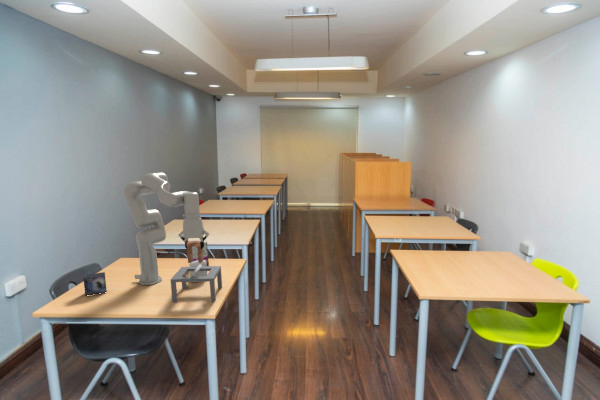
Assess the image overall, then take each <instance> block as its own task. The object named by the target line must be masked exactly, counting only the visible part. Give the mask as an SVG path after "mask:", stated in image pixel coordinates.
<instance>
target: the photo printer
mask: <svg viewBox="0 0 600 400" xmlns="http://www.w3.org/2000/svg"><path fill="white" fill-rule="evenodd" d="M199 264H201V265H202V266H207V263H206V261H205V260H203V261H202V263H198V260H196V261H193V262H191V263H189V267H198V265H199ZM193 272H194V271H189V277H191V274H192V273H193ZM207 274H208V271H198V273H197V274H196V276H207ZM196 276H195V277H196Z"/></svg>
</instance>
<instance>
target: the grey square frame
mask: <svg viewBox="0 0 600 400" xmlns="http://www.w3.org/2000/svg"><path fill="white" fill-rule="evenodd" d="M190 271H194V272H193V273H192V274H191V277H190V276H187V274H188V272H190ZM198 271H207V276H196V274H197V273H198ZM195 276H196V277H195ZM216 278H217V280H216ZM215 281H217V289H219V290H220V289H223V280H222V266H221V265H217V266H215V265H211V266H210V265H209V266H202V265H201V264H199V265H198V267H190V266H181V267H180V268H179V269H178V270H177V272H176V273H175V274H174V275H173V276H172V277H171V279H170V289H171V301H172V302H171V303H177V302H178V292H177V291H178V290H177V283H181V289H182V290H187V289H188V287H187V283H197V282H198V283H201V282H202V283H205V282H209V290H210V291H209V292H210V302H212V303H213V302H216V300H217V299H216V286H215V285H216V284H215Z"/></svg>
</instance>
